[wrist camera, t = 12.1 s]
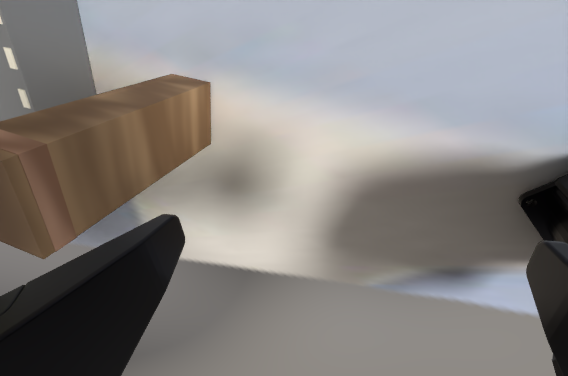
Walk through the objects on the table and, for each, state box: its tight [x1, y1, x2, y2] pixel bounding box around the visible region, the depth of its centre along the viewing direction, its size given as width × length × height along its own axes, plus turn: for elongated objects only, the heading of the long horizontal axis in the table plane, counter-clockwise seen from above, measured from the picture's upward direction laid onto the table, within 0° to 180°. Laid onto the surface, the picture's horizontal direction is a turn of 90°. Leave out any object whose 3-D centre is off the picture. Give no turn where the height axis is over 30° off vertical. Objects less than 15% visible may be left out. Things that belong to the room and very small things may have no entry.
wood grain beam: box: [0, 74, 211, 259], centre depth 17 cm, size 3×4×13 cm, turn 173°
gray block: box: [0, 0, 96, 121], centre depth 23 cm, size 5×14×5 cm, turn 172°
